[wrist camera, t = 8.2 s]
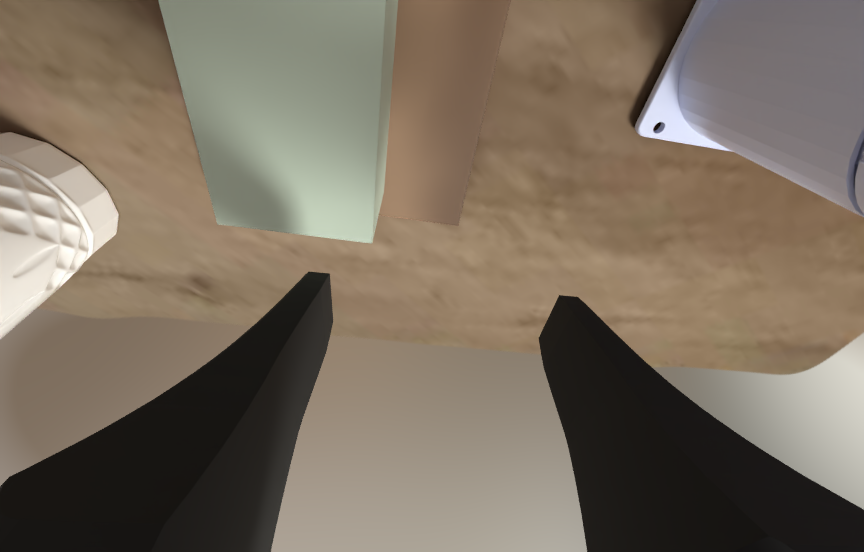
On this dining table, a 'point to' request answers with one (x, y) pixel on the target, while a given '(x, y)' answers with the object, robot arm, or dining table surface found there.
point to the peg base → (438, 103)
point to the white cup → (45, 223)
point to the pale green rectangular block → (289, 109)
